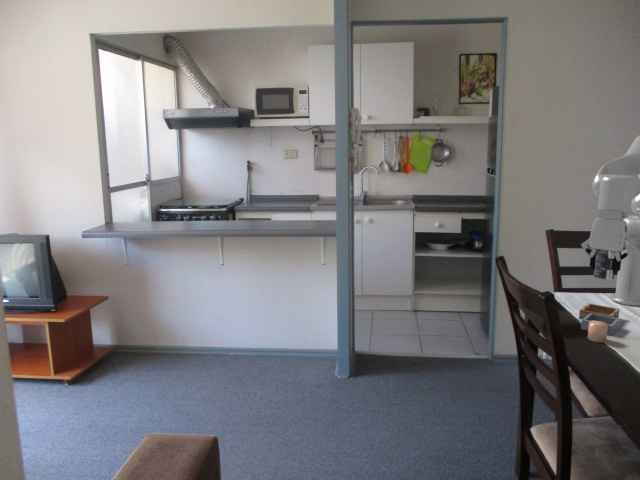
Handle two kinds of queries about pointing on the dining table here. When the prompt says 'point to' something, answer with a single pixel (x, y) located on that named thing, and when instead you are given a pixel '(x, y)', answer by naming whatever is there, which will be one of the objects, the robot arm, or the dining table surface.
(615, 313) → the brown wooden open tray
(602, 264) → the pill bottle
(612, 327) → the gray square open tray
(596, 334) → the peach rounded capsule
